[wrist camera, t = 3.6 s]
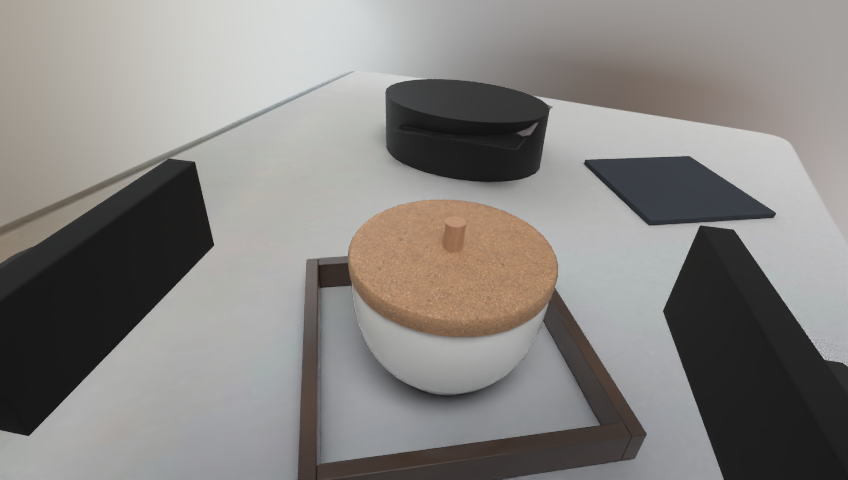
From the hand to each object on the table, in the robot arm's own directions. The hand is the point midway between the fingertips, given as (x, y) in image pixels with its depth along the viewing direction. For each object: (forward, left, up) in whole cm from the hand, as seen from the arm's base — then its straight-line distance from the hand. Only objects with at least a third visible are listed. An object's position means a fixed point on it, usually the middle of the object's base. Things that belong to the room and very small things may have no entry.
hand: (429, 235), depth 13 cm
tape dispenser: (+38, -11, -15) cm, 42 cm away
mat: (+28, -31, -15) cm, 45 cm away
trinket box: (+9, -3, -15) cm, 18 cm away
